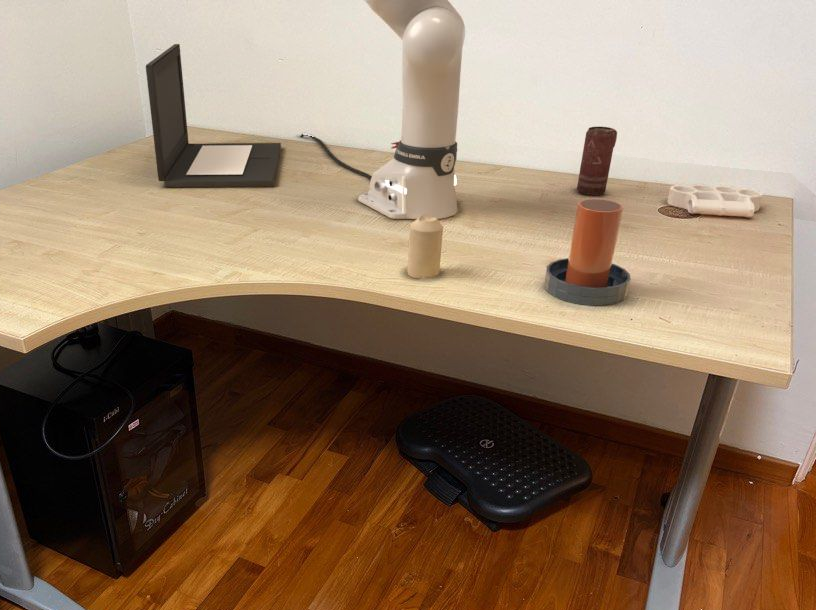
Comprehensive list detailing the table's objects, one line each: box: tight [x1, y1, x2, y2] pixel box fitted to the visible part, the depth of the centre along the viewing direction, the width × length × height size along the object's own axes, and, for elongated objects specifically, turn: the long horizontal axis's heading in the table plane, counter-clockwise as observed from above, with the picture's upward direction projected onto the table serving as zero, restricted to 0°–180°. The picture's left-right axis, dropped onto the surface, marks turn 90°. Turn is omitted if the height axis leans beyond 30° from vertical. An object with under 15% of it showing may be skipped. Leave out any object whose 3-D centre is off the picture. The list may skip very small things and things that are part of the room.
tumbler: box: [565, 198, 624, 288], centre depth 121 cm, size 7×7×14 cm
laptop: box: [145, 43, 282, 188], centre depth 187 cm, size 37×27×27 cm
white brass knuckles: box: [666, 183, 764, 219], centre depth 160 cm, size 3×18×15 cm
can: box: [576, 126, 618, 197], centre depth 168 cm, size 6×6×14 cm
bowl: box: [543, 257, 632, 307], centre depth 124 cm, size 13×13×3 cm
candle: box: [406, 215, 444, 280], centre depth 129 cm, size 6×6×10 cm
